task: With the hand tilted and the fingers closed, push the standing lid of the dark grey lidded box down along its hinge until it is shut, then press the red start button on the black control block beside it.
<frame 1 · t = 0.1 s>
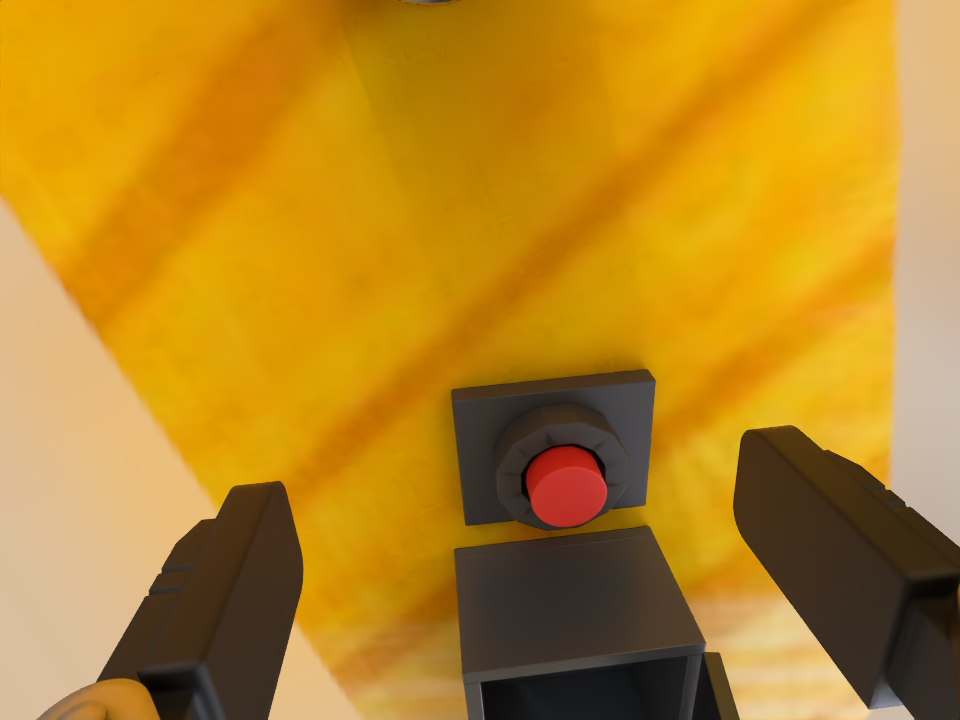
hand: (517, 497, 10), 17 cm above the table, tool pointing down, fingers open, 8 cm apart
dark grey lidded box: (553, 610, 37), on the table
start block: (551, 443, 31), on the table
start button: (565, 486, 28), point 3 cm above the table, slide at 0.1 cm
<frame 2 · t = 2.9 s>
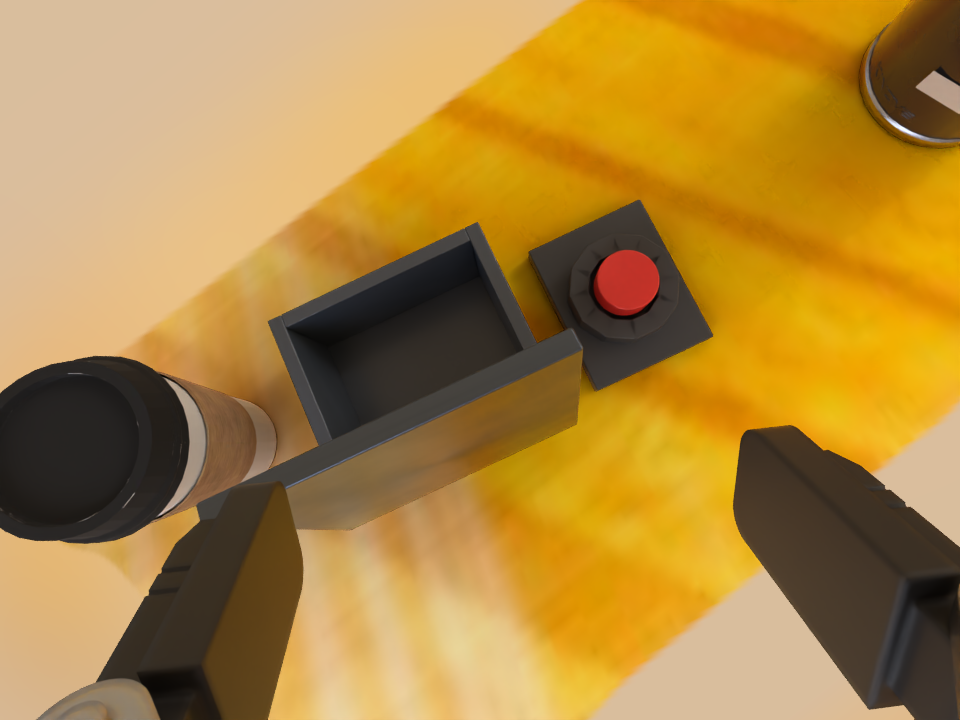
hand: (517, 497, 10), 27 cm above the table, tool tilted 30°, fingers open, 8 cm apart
dark grey lidded box: (436, 381, 38), on the table
lid: (433, 454, 23), point 14 cm above the table, hinge at 80.0°
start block: (616, 297, 38), on the table
start button: (625, 283, 35), point 3 cm above the table, slide at 0.1 cm
coffee cup: (235, 443, 39), on the table
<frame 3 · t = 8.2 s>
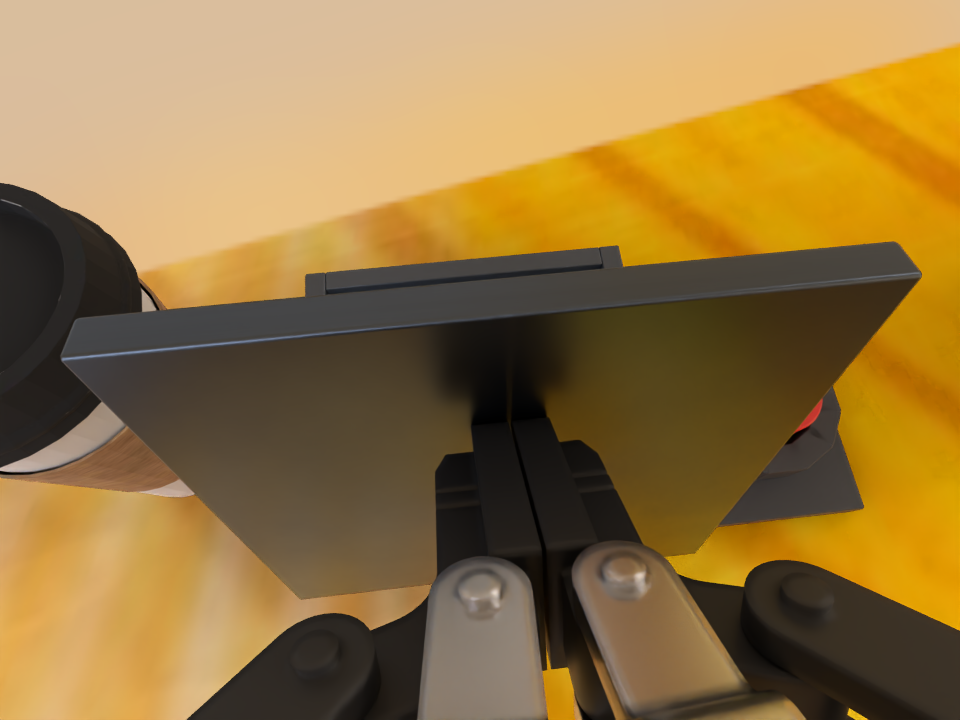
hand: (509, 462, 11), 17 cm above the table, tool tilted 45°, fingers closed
dark grey lidded box: (478, 446, 28), on the table
lid: (500, 479, 14), point 14 cm above the table, hinge at 74.7°, touching gripper
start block: (738, 418, 29), on the table
start button: (771, 396, 26), point 3 cm above the table, slide at 0.1 cm
coffee cup: (191, 437, 29), on the table
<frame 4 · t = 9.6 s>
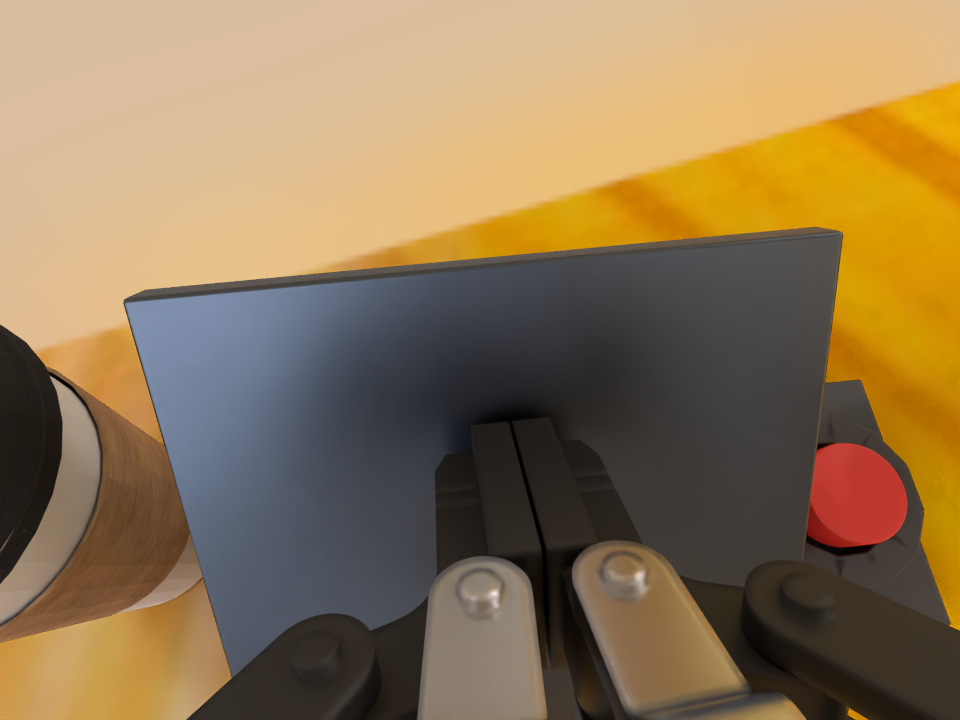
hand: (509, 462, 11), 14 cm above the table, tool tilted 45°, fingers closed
lid: (512, 551, 12), point 12 cm above the table, hinge at 40.4°, touching gripper
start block: (794, 507, 25), on the table
start button: (842, 495, 22), point 3 cm above the table, slide at 0.1 cm
coffee cup: (157, 531, 25), on the table
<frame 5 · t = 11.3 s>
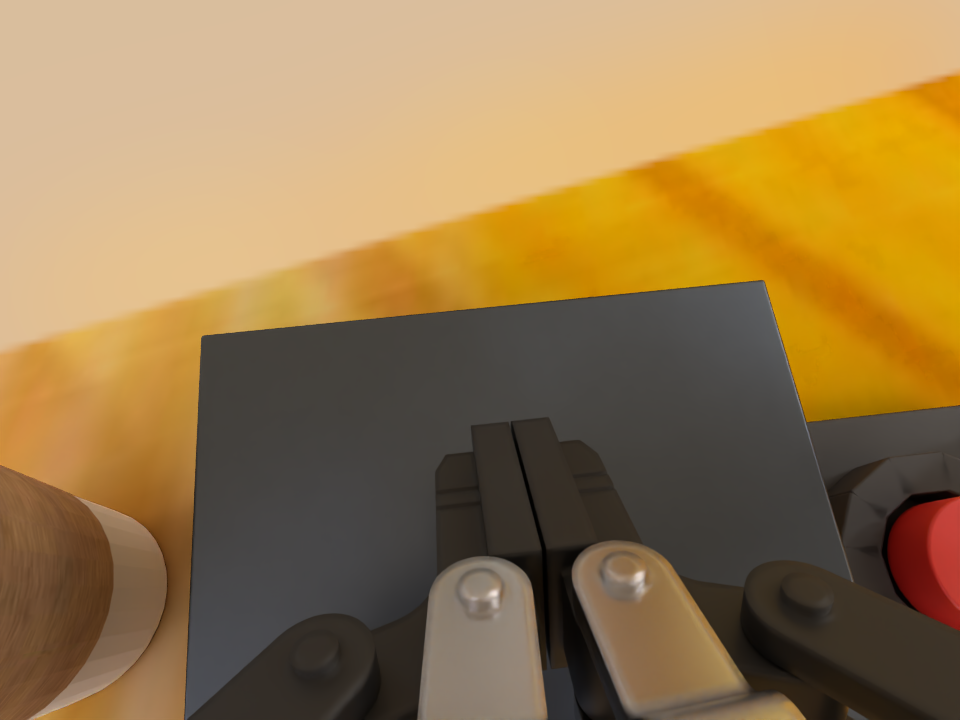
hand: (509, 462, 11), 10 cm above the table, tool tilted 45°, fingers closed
lid: (525, 608, 11), point 9 cm above the table, hinge at 2.6°, touching gripper
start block: (889, 567, 20), on the table
coffee cup: (81, 601, 19), on the table
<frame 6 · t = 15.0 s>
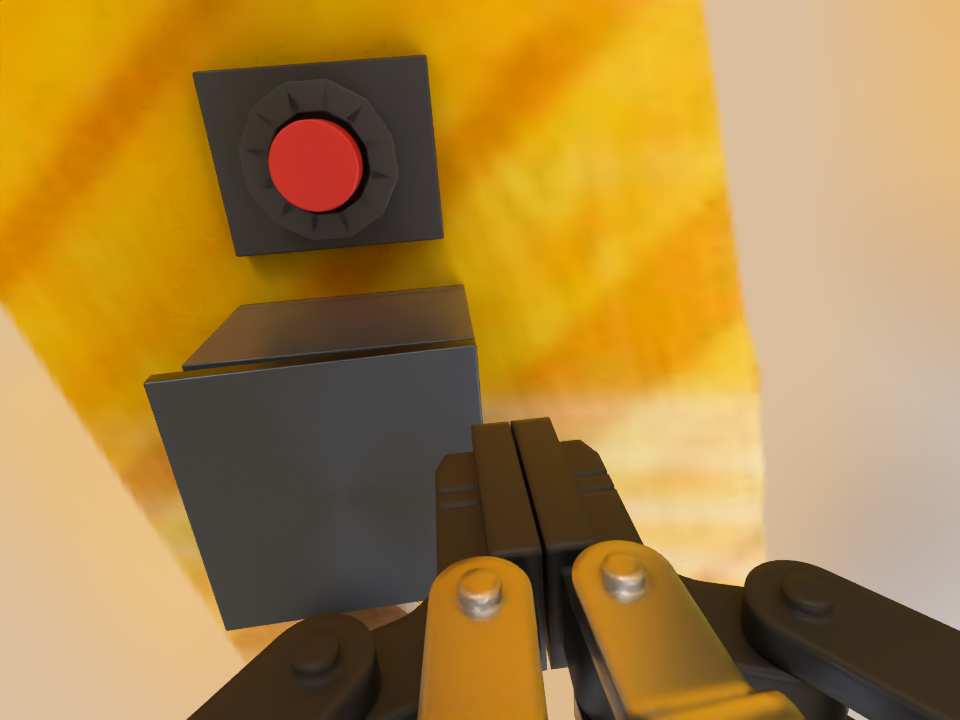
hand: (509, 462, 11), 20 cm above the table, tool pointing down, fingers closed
dark grey lidded box: (370, 401, 33), on the table
lid: (342, 494, 25), point 9 cm above the table, hinge at 2.6°
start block: (330, 159, 28), on the table
start button: (317, 165, 24), point 3 cm above the table, slide at 0.1 cm
coffee cup: (371, 591, 38), on the table
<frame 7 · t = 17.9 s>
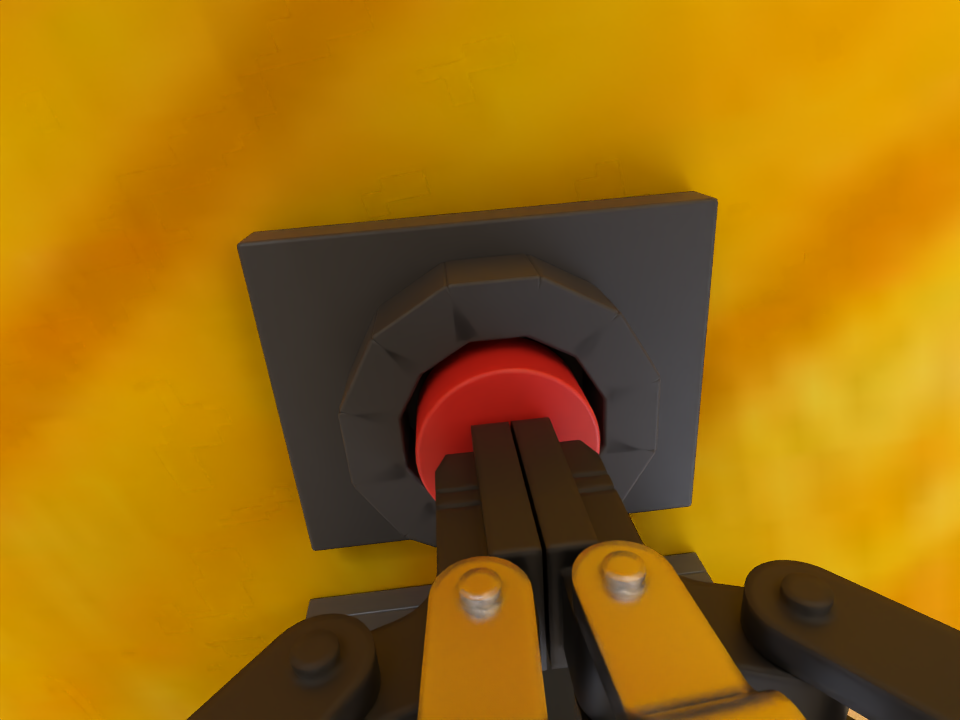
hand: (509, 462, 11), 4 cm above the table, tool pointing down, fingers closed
dark grey lidded box: (516, 714, 20), on the table
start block: (489, 372, 15), on the table
start button: (503, 431, 12), point 3 cm above the table, slide at -0.5 cm, touching gripper
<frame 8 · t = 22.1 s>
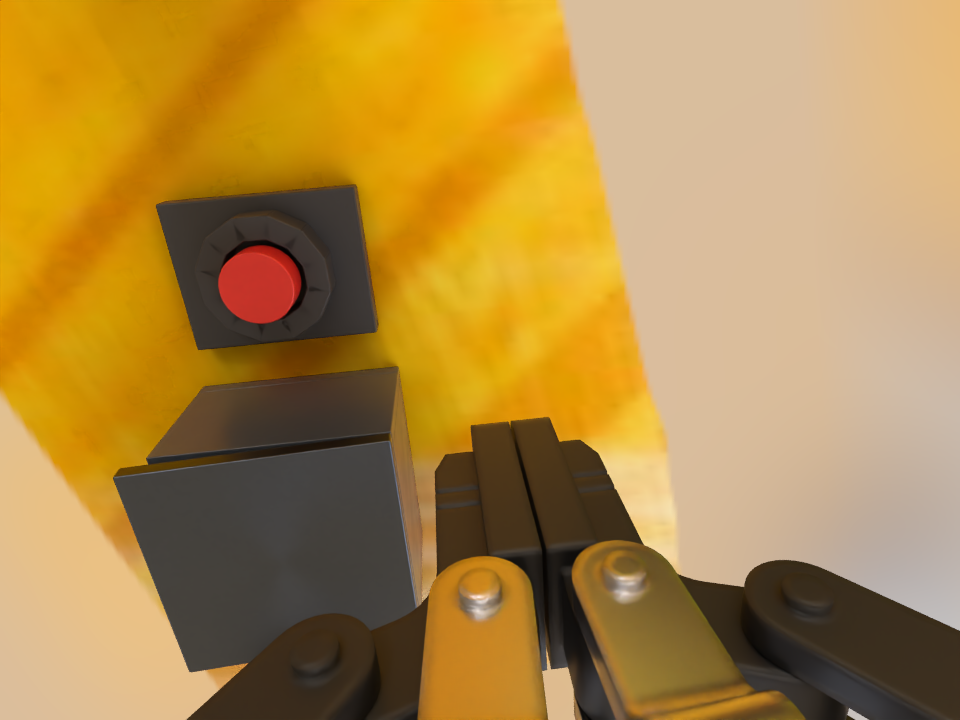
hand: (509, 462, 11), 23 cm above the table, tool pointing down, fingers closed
dark grey lidded box: (321, 464, 37), on the table
lid: (284, 559, 30), point 9 cm above the table, hinge at 2.6°
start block: (277, 266, 32), on the table
start button: (261, 284, 29), point 3 cm above the table, slide at 0.1 cm
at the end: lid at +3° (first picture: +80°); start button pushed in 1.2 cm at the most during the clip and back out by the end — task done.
